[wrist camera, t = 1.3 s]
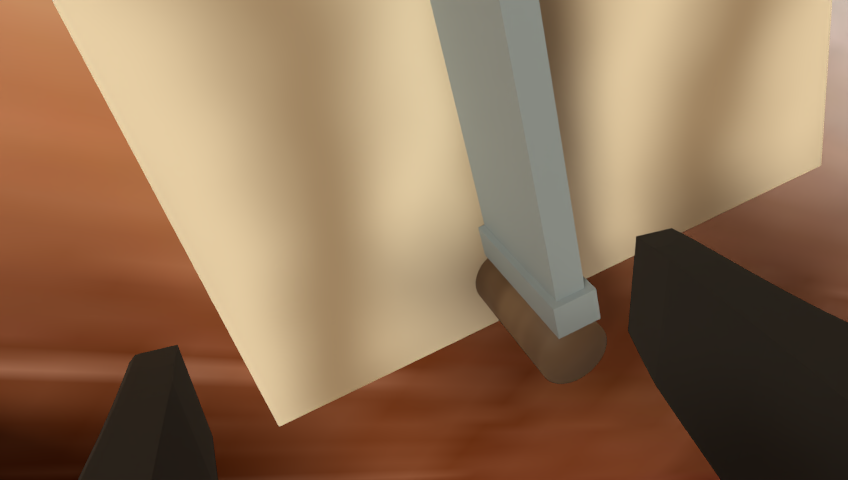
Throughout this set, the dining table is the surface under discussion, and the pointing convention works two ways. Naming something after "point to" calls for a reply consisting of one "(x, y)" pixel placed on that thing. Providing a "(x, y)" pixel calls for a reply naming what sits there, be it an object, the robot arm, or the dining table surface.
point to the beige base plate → (431, 160)
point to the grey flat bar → (516, 153)
